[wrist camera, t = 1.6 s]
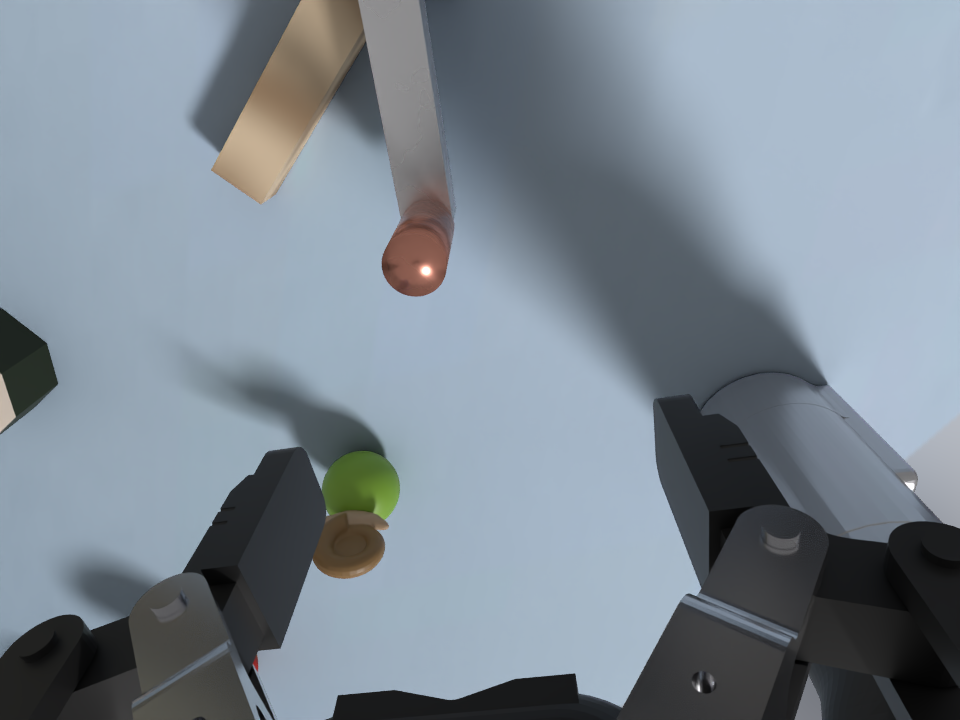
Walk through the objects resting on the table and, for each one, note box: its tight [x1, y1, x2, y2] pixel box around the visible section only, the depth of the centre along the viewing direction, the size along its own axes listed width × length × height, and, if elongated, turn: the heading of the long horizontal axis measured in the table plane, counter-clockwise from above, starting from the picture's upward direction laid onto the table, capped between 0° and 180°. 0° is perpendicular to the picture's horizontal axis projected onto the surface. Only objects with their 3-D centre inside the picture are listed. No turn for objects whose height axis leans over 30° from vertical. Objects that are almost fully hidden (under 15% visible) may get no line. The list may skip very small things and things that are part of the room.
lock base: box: [211, 0, 366, 204], centre depth 28 cm, size 16×15×6 cm
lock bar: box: [358, 0, 456, 296], centre depth 24 cm, size 16×4×9 cm, turn 8°
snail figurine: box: [312, 451, 400, 579], centre depth 39 cm, size 5×6×12 cm
